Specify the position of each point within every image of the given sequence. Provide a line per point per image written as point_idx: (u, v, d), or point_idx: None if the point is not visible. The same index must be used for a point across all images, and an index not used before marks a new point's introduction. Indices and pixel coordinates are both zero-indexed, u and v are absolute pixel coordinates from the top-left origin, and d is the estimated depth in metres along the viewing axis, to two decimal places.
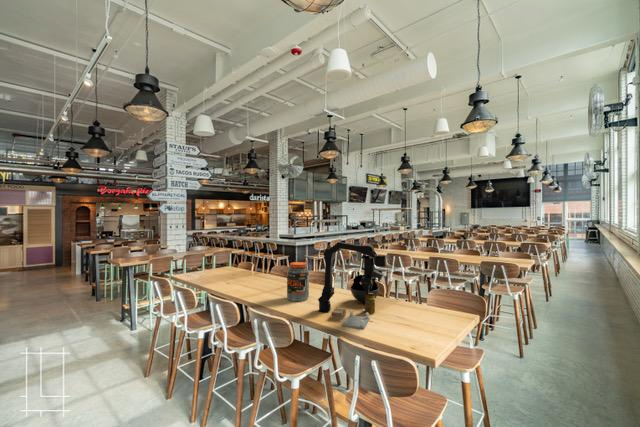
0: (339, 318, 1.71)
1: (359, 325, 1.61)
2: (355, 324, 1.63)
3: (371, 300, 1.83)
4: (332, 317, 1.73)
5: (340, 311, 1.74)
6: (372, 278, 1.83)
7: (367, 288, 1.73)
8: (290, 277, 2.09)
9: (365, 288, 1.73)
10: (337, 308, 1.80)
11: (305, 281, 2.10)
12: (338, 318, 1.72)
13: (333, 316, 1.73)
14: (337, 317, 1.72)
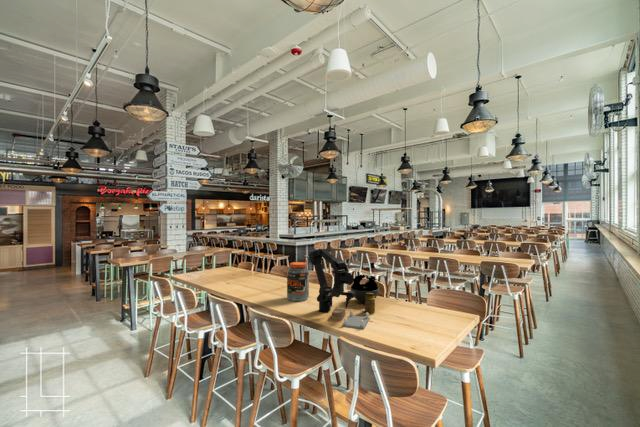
0: (339, 318, 1.71)
1: (359, 325, 1.61)
2: (355, 324, 1.63)
3: (371, 300, 1.83)
4: (332, 317, 1.73)
5: (340, 311, 1.74)
6: (347, 297, 1.74)
7: None
8: (290, 277, 2.09)
9: None
10: (337, 308, 1.80)
11: (305, 281, 2.10)
12: (338, 318, 1.71)
13: (333, 316, 1.72)
14: (337, 317, 1.72)
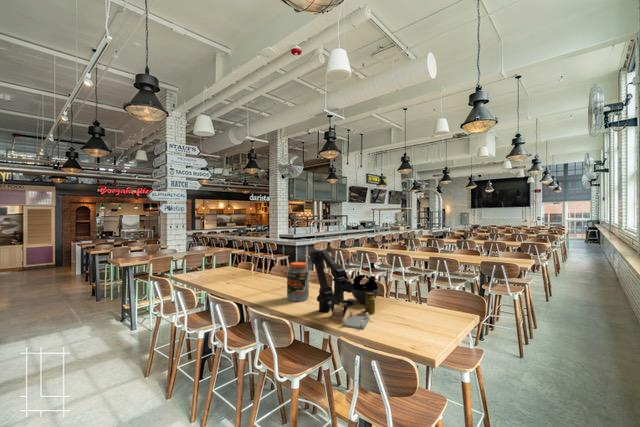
0: (340, 318, 1.71)
1: (359, 325, 1.61)
2: (355, 324, 1.63)
3: (371, 300, 1.83)
4: (333, 317, 1.72)
5: (340, 311, 1.74)
6: (345, 304, 1.74)
7: None
8: (290, 277, 2.09)
9: None
10: (337, 308, 1.80)
11: (305, 281, 2.10)
12: (339, 318, 1.71)
13: (333, 316, 1.72)
14: (338, 316, 1.72)
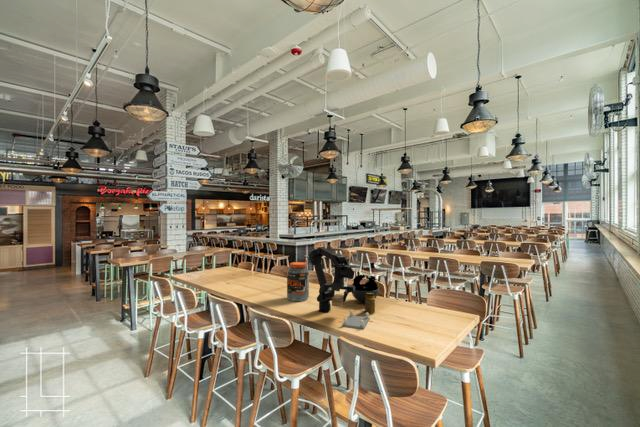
0: (339, 304, 1.71)
1: (359, 325, 1.61)
2: (355, 324, 1.63)
3: (371, 300, 1.83)
4: (332, 303, 1.73)
5: (340, 297, 1.74)
6: (345, 291, 1.74)
7: None
8: (290, 277, 2.09)
9: None
10: (337, 295, 1.80)
11: (305, 281, 2.10)
12: (338, 304, 1.71)
13: (333, 302, 1.72)
14: (337, 302, 1.72)
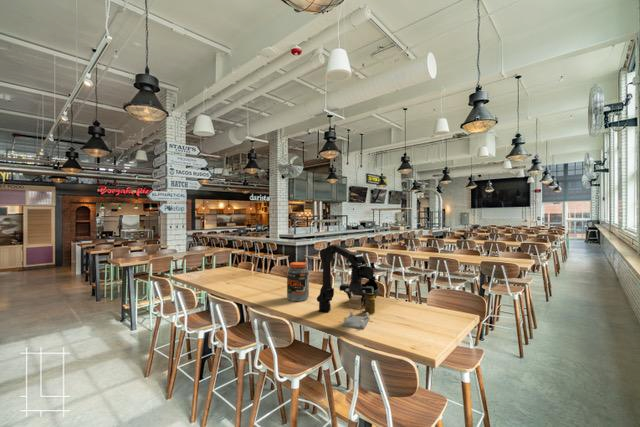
0: (357, 306, 1.62)
1: (359, 325, 1.61)
2: (355, 324, 1.63)
3: (371, 300, 1.83)
4: (350, 305, 1.64)
5: (358, 298, 1.65)
6: (363, 292, 1.65)
7: None
8: (290, 277, 2.09)
9: None
10: (354, 296, 1.71)
11: (305, 281, 2.10)
12: (356, 306, 1.63)
13: (351, 304, 1.64)
14: (355, 304, 1.63)
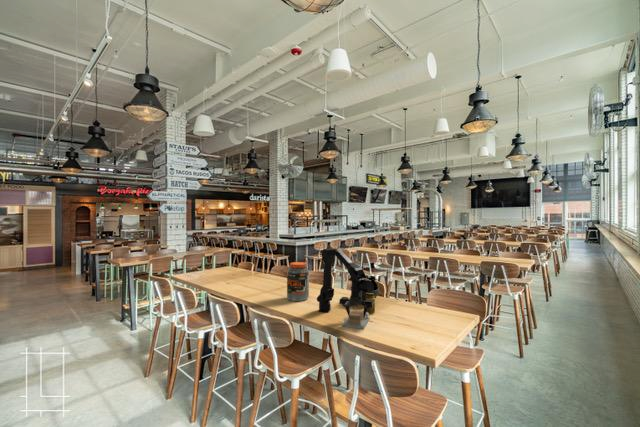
0: (357, 321, 1.62)
1: (359, 325, 1.61)
2: (355, 324, 1.63)
3: None
4: (350, 320, 1.64)
5: (358, 314, 1.65)
6: (365, 306, 1.65)
7: None
8: (290, 277, 2.09)
9: None
10: (354, 311, 1.71)
11: (305, 281, 2.10)
12: (356, 321, 1.63)
13: (351, 320, 1.64)
14: (355, 320, 1.63)
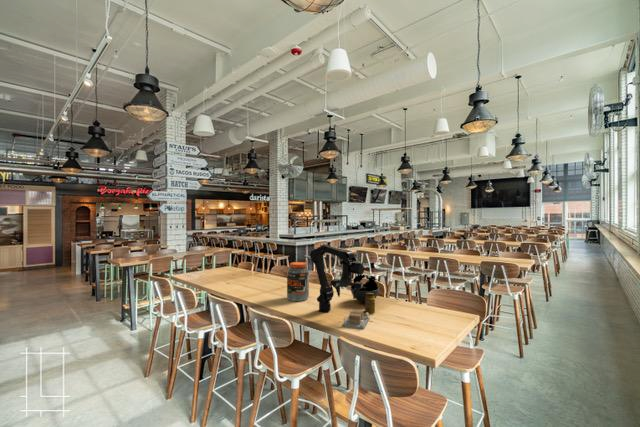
0: (357, 321, 1.62)
1: (359, 325, 1.61)
2: (355, 324, 1.63)
3: (371, 300, 1.83)
4: (350, 320, 1.64)
5: (358, 314, 1.65)
6: (355, 287, 1.74)
7: None
8: (290, 277, 2.09)
9: None
10: (354, 311, 1.71)
11: (305, 281, 2.10)
12: (356, 321, 1.63)
13: (351, 320, 1.64)
14: (355, 320, 1.63)
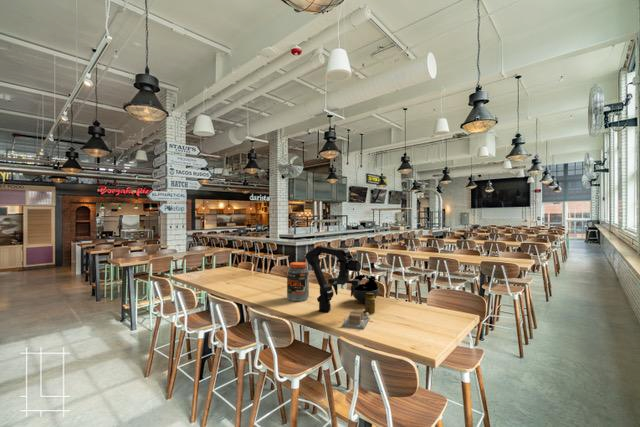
0: (357, 321, 1.62)
1: (359, 325, 1.61)
2: (355, 324, 1.63)
3: (371, 300, 1.83)
4: (350, 320, 1.64)
5: (358, 314, 1.65)
6: (352, 285, 1.77)
7: None
8: (290, 277, 2.09)
9: None
10: (354, 311, 1.71)
11: (305, 281, 2.10)
12: (356, 321, 1.63)
13: (351, 320, 1.64)
14: (355, 320, 1.63)
